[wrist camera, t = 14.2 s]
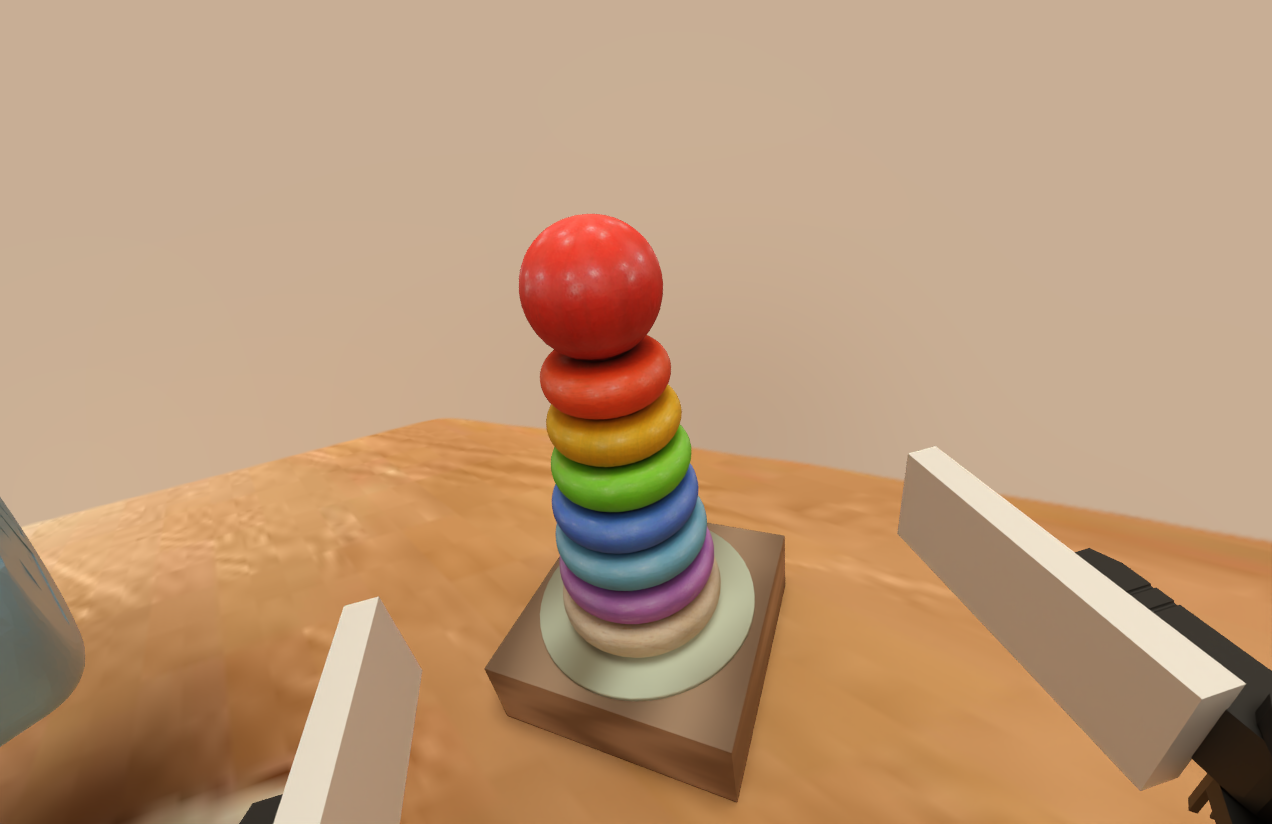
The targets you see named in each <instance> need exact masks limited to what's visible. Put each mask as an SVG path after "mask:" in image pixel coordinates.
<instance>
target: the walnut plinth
mask: <svg viewBox="0 0 1272 824" xmlns="http://www.w3.org/2000/svg"><path fill="white" fill-rule="evenodd" d="M707 527H708V529H709V531H710V533H711V536H712V540H713V544H714V556H715V559H716V561H717V564H718V567H719V571H720V577H721V590H720V596H719V600H718V604H717V606H716V609H715V611H714V613H713V615H712V617H711V619H710V620H709V622H708V623H707V624H706V626H705V627H704V628H703V629H702V630H701V631H700V632H699V633H698V634H697V635H696V636H695V637H694V638H693V639H691V640H690V641H688V642H687V643H686V644H684V645H682V646H681V647H679V648H677V649H675V650H672V651H670V652H667V653H664V654H661V655H657V656H652V657H644V658H631V657H622V656H617V655H613V654H610V653H607V652H604V651H602V650H600V649H598V648H596V647H594V646H593V645H591V644H590V643H588V642H587V641H586V640H585V639H584V638H582V637H581V636H580V635H579V633H578V632H577V631H576V630H575V629H574V627H573V626H572V624H571V622H570V620H569V618H568V616H567V613H566V611H565V606H564V600H563V585H564V584H563V581H562V578H561V574H560V557H559V558H558V560H557V561H556V563H555V564H554V566H553V567H552V569H551V570H550V572H549V573H548V575H547V576H546V578H545V579H544V581H543V582H542V584H541V585H540V587H539V588H538V590H537V591H536V593H535V594H534V596H533V597H532V599H531V600H530V602H529V603H528V604H527V606H526V607H525V609H524V610H523V612H522V613H521V615H520V616H519V618H518V619H517V621H516V622H515V624H514V625H513V627H512V628H511V630H510V631H509V633H508V634H507V636H506V637H505V639H504V640H503V642H502V643H501V645H500V646H499V648H498V649H497V651H496V652H495V654H494V655H493V657H492V658H491V660H490V661H489V663H488V664H487V666H486V667H485V671H486V673H487V675H488V677H489V679H490V681H491V683H492V685H493V687H494V689H495V691H496V693H497V695H498V697H499V699H500V701H501V703H502V705H503V707H504V710H505V712H506V714H507V715H508V716H510V717H513V718H516V719H518V720H521V721H524V722H526V723H529V724H532V725H534V726H537V727H539V728H542V729H545V730H547V731H550V732H553V733H555V734H558V735H561V736H563V737H566V738H569V739H571V740H574V741H576V742H579V743H582V744H584V745H587V746H590V747H592V748H595V749H598V750H600V751H603V752H606V753H608V754H611V755H613V756H616V757H619V758H621V759H624V760H627V761H629V762H632V763H635V764H637V765H640V766H643V767H645V768H648V769H650V770H653V771H656V772H658V773H661V774H664V775H666V776H669V777H672V778H674V779H677V780H680V781H682V782H685V783H687V784H690V785H693V786H695V787H698V788H701V789H703V790H706V791H709V792H711V793H714V794H717V795H719V796H722V797H725V798H727V799H730V800H732V801H735V802H737V801H738V797H739V792H740V788H741V783H742V779H743V774H744V769H745V765H746V760H747V756H748V751H749V747H750V742H751V738H752V733H753V729H754V724H755V720H756V715H757V710H758V706H759V701H760V697H761V692H762V688H763V683H764V679H765V674H766V670H767V665H768V660H769V656H770V651H771V647H772V642H773V638H774V633H775V629H776V624H777V620H778V615H779V611H780V606H781V601H782V597H783V592H784V588H785V537H784V536H782V535H777V534H771V533H765V532H759V531H753V530H747V529H741V528H735V527H729V526H723V525H717V524H711V523H707Z"/></svg>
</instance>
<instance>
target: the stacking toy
mask: <svg viewBox="0 0 1272 824" xmlns="http://www.w3.org/2000/svg"><path fill="white" fill-rule="evenodd" d="M519 294H520V301H521V304H522V308H523V310H524V313H525V316H526V318H527V320H528V322H529V323H530V325H531V327H532V328H533V330H534V331H535V332H536V334H537V335H538V336H539V337H540V338H541V339H542V340H543V341H544V342H545V343H546V344H547V345H549V346H550V347H552V348H553V349H554V350H553V351H552V352H551V353H550V354H549V355H548V357H547V358H546V359H545V361H544V363H543V365H542V368H541V372H540V383H541V388H542V390H543V393H544V395H545V397H546V398H547V400H548V401H549V402H550V403H551V406H550V409H549V411H548V414H547V419H546V425H547V432H548V435H549V438H550V440H551V442H552V443H553V445H554V446H555V447H554V450H553V453H552V456H551V471H552V475H553V479H554V481H555V483H556V484H555V487H554V490H553V495H552V509H553V514H554V517H555V519H556V522H557V525H556V542H557V547H558V551H559V554H560V574H561V578H562V581H563V584H564V585H563V600H564V606H565V611H566V613H567V616H568V618H569V620H570V622H571V624H572V626H573V627H574V629H575V630H576V631H577V632H578V633H579V635H580V636H581V637H582V638H584V639H585V640H586V641H587V642H588V643H590V644H591V645H593V646H594V647H596V648H598V649H600V650H602V651H604V652H607V653H610V654H613V655H617V656H622V657H631V658H644V657H652V656H657V655H661V654H664V653H667V652H670V651H672V650H675V649H677V648H679V647H681V646H682V645H684V644H686V643H687V642H688V641H690V640H691V639H693V638H694V637H695V636H696V635H697V634H698V633H699V632H700V631H701V630H702V629H703V628H704V627H705V626H706V624H707V623H708V622H709V620H710V619H711V617H712V615H713V613H714V611H715V609H716V606H717V604H718V600H719V596H720V590H721V577H720V571H719V567H718V564H717V561H716V559H715V556H714V544H713V540H712V536H711V533H710V531H709V529H708V527H707V518H706V512H705V509H704V505H703V503H702V501H701V499H700V498H699V496H698V481H697V477H696V474H695V471H694V469H693V467H692V465H691V464H690V460H691V444H690V440H689V437H688V435H687V433H686V431H685V430H684V428H683V427H682V426H681V425H680V420H681V413H682V411H681V405H680V401H679V399H678V396H677V395H676V393H675V392H674V390H673V389H672V388H671V387H670V386H669V385H668V382H669V379H670V375H671V363H670V359H669V356H668V354H667V352H666V350H665V349H664V348H663V346H662V345H661V344H660V343H659V342H658V341H656V340H655V339H653V338H651V337H650V336H648V335H647V333H648V332H649V331H650V329H651V327H652V326H653V324H654V322H655V320H656V318H657V316H658V313H659V310H660V306H661V302H662V295H663V280H662V273H661V269H660V266H659V262H658V260H657V257H656V255H655V253H654V251H653V249H652V248H651V246H650V245H649V243H648V242H647V241H646V239H645V238H644V237H643V236H642V235H641V234H640V233H639V232H638V231H636V230H635V229H634V228H633V227H631V226H630V225H628V224H626V223H624V222H623V221H621V220H619V219H616V218H614V217H610V216H606V215H600V214H582V215H575V216H572V217H568V218H565V219H562V220H560V221H558V222H556V223H554V224H552V225H551V226H549V227H548V228H546V229H545V230H544V231H543V232H541V234H539V236H538V237H537V238H536V239H535V240H534V241H533V243H532V244H531V246H530V247H529V249H528V250H527V252H526V254H525V256H524V259H523V263H522V265H521V269H520V275H519Z"/></svg>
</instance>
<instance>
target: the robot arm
mask: <svg viewBox="0 0 1272 824" xmlns="http://www.w3.org/2000/svg"><path fill="white" fill-rule="evenodd" d="M898 535H899V536H900V537H901V538H902V539H903V540H904V541H905V542H906V543H907V544H908V545H909V546H910V547H911V548H912V550H913V551H914V552H915V553H916V554H917V555H918V556H919V557H920V558H921V559H922V560H923V561H924V562H925V563H926V564H927V565H928V566H929V568H930V569H931V570H932V571H933V572H934V573H935V574H936V575H937V576H938V577H939V578H940V579H941V580H942V581H943V582H944V583H945V585H946V586H947V587H948V588H949V589H950V590H951V591H952V592H953V593H954V594H955V595H956V596H957V597H958V598H959V599H960V600H961V602H962V603H963V604H964V605H965V606H966V607H967V608H968V609H969V610H970V611H971V612H972V613H973V614H974V615H975V616H976V617H977V618H978V620H979V621H980V622H981V623H982V624H983V625H984V626H985V627H986V628H987V629H988V630H989V631H990V632H991V633H992V634H993V635H994V637H995V638H996V639H997V640H998V641H999V642H1000V643H1001V644H1002V645H1003V646H1004V647H1005V648H1006V649H1007V650H1008V651H1009V652H1010V653H1011V655H1012V656H1013V657H1014V658H1015V659H1016V660H1017V661H1018V662H1019V663H1020V664H1021V665H1022V666H1023V667H1024V668H1025V669H1026V670H1027V672H1028V673H1029V674H1030V675H1031V676H1032V677H1033V678H1034V679H1035V680H1036V681H1037V682H1038V683H1039V684H1040V685H1041V686H1042V687H1043V689H1044V690H1045V691H1046V692H1047V693H1048V694H1049V695H1050V696H1051V697H1052V698H1053V699H1054V700H1055V701H1056V702H1057V703H1058V704H1059V705H1060V707H1061V708H1062V709H1063V710H1064V711H1065V712H1066V713H1067V714H1068V715H1069V716H1070V717H1071V718H1072V719H1073V720H1074V721H1075V722H1076V724H1077V725H1078V726H1079V727H1080V728H1081V729H1082V730H1083V731H1084V732H1085V733H1086V734H1087V735H1088V736H1089V737H1090V738H1091V739H1092V740H1093V742H1094V743H1095V744H1096V745H1097V746H1098V747H1099V748H1100V749H1101V750H1102V751H1103V752H1104V753H1105V754H1106V755H1107V756H1108V757H1109V759H1110V760H1111V761H1112V762H1113V763H1114V764H1115V765H1116V766H1117V767H1118V768H1119V769H1120V770H1121V771H1122V772H1123V773H1124V774H1125V775H1126V777H1127V778H1128V779H1129V780H1130V781H1131V782H1132V783H1133V784H1134V785H1135V786H1136V787H1137V788H1138V789H1139V790H1140V791H1142V790H1145V789H1147V788H1150V787H1153V786H1156V785H1158V784H1161V783H1164V782H1167V781H1169V780H1172V779H1175V778H1178V777H1179V776H1180V774H1181V773H1182V771H1183V770H1184V769H1185V767H1186V766H1187V765H1188V763H1189V762H1190V760H1191V759H1193V760H1194V761H1195V762H1196V763H1197V764H1198V765H1199V766H1200V767H1201V768H1203V769H1204V770H1205V771H1206V772H1207V775H1206V776H1205V777H1204V778H1203V780H1202V781H1201V782H1200V784H1199V785H1198V786H1197V787H1196V789H1195V790H1194V791H1193V793H1192V794H1191V795H1190V796H1189V798H1188V803H1189V811H1191V812H1194V813H1198V812H1199V811H1200V810H1201V809H1202V807H1203V806H1204V805H1205V804H1206V802H1207V801H1208V800H1209V802H1210V805H1211V809H1212V812H1211V814H1210V818H1211V819H1214V820H1215V822H1216V824H1272V671H1271V670H1270V669H1268V668H1267V667H1265V666H1264V665H1263V664H1261V663H1260V662H1258V661H1257V660H1256V659H1254V658H1253V657H1251V656H1250V655H1249V654H1247V653H1246V652H1245V651H1243V650H1242V649H1240V648H1239V647H1238V646H1236V645H1235V644H1233V643H1232V642H1231V641H1229V640H1228V639H1227V638H1225V637H1224V636H1222V635H1221V634H1220V633H1218V632H1217V631H1216V630H1214V629H1213V628H1211V627H1210V626H1209V625H1207V624H1206V623H1204V622H1203V621H1202V620H1200V619H1199V618H1198V617H1196V616H1195V615H1193V614H1192V613H1191V612H1189V611H1188V610H1186V609H1185V608H1184V607H1182V606H1181V605H1176V604H1175V603H1174V600H1173V599H1171V598H1170V597H1168V596H1167V595H1166V594H1164V593H1163V592H1162V591H1160V590H1159V589H1157V588H1153V587H1152V586H1151V583H1149V582H1148V581H1146V580H1145V579H1144V578H1142V577H1141V576H1139V575H1138V574H1137V573H1135V572H1134V571H1133V570H1131V569H1130V568H1128V567H1127V566H1126V565H1124V564H1123V563H1121V562H1119V561H1117V560H1114V559H1112V558H1110V557H1108V556H1106V555H1103V554H1101V553H1099V552H1097V551H1095V550H1092V549H1090V548H1088V549H1085V550H1081V551H1078V552H1073V551H1072V550H1071V549H1069V548H1068V547H1067V546H1065V545H1064V544H1063V543H1061V542H1060V541H1059V540H1058V539H1056V538H1055V537H1054V536H1052V535H1051V534H1050V533H1048V532H1047V531H1046V530H1044V529H1043V528H1042V527H1041V526H1039V525H1038V524H1037V523H1035V522H1034V521H1033V520H1031V519H1030V518H1029V517H1027V516H1026V515H1025V514H1024V513H1022V512H1021V511H1020V510H1018V509H1017V508H1016V507H1014V506H1013V505H1012V504H1010V503H1009V502H1008V501H1007V500H1005V499H1004V498H1003V497H1001V496H1000V495H999V494H997V493H996V492H995V491H993V490H992V489H991V488H990V487H988V486H987V485H986V484H984V483H983V482H982V481H980V480H979V479H978V478H976V477H975V476H974V475H973V474H971V473H970V472H969V471H967V470H966V469H965V468H963V467H962V466H961V465H960V464H958V463H957V462H956V461H954V460H953V459H952V458H950V457H949V456H948V455H946V454H945V453H944V452H942V451H941V450H940V449H939V448H937V447H936V446H934V447H931V448H927V449H923V450H920V451H916V452H912V453H908V458H907V466H906V473H905V481H904V488H903V496H902V503H901V511H900V518H899V526H898ZM84 667H85V647H84V643H83V640H82V637H81V634H80V631H79V629H78V627H77V625H76V623H75V620H74V618H73V616H72V614H71V612H70V610H69V608H68V606H67V604H66V602H65V600H64V598H63V596H62V595H61V593H60V591H59V589H58V587H57V586H56V584H55V582H54V580H53V579H52V577H51V575H50V573H49V572H48V570H47V568H46V567H45V565H44V564H43V562H42V560H41V559H40V557H39V555H38V554H37V552H36V550H35V549H34V547H33V546H32V544H31V542H30V541H29V539H28V538H27V536H26V535H25V533H24V532H23V530H22V529H21V527H20V526H19V524H18V523H17V521H16V520H15V518H14V517H13V515H12V513H11V512H10V511H9V509H8V508H7V506H6V505H5V503H4V502H3V501H2V499H1V498H0V747H1V746H2V745H4V744H5V743H7V742H8V741H10V740H11V739H13V738H14V737H15V736H17V735H18V734H20V733H21V732H23V731H24V730H26V729H27V728H29V727H30V726H32V725H33V724H35V723H36V722H38V721H39V720H41V719H42V718H44V717H45V716H47V715H48V714H50V713H51V712H52V711H54V710H55V709H56V708H57V707H59V706H60V705H61V704H62V703H63V702H64V701H65V700H66V699H67V698H68V697H69V696H70V695H71V693H72V692H73V691H74V689H75V688H76V686H77V685H78V683H79V681H80V679H81V676H82V673H83V670H84ZM421 675H422V669H421V667H420V666H419V664H418V662H417V661H416V659H415V657H414V655H413V654H412V652H411V650H410V649H409V647H408V645H407V644H406V642H405V640H404V638H403V637H402V635H401V633H400V632H399V630H398V628H397V627H396V625H395V623H394V622H393V620H392V618H391V616H390V615H389V613H388V611H387V610H386V608H385V606H384V605H383V603H382V601H381V599H380V598H379V597H375V598H372V599H368V600H364V601H361V602H357V603H353V604H349V605H346V606H344V608H343V611H342V614H341V617H340V620H339V623H338V626H337V629H336V632H335V635H334V638H333V642H332V645H331V648H330V651H329V654H328V657H327V660H326V663H325V666H324V669H323V672H322V675H321V678H320V682H319V685H318V688H317V691H316V694H315V697H314V700H313V703H312V706H311V709H310V712H309V715H308V718H307V722H306V725H305V728H304V731H303V734H302V737H301V740H300V743H299V746H298V749H297V752H296V755H295V759H294V762H293V765H292V768H291V771H290V774H289V777H288V780H287V783H286V786H285V789H284V792H283V794H282V795H278V796H275V797H272V798H268V799H265V800H262V801H259V802H255V803H253V804H252V805H251V807H250V808H249V810H248V811H247V813H246V814H245V816H244V817H243V819H242V820H241V822H240V823H239V824H400V818H401V811H402V805H403V798H404V791H405V784H406V777H407V770H408V764H409V757H410V750H411V743H412V736H413V729H414V723H415V716H416V709H417V702H418V695H419V688H420V682H421Z"/></svg>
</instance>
